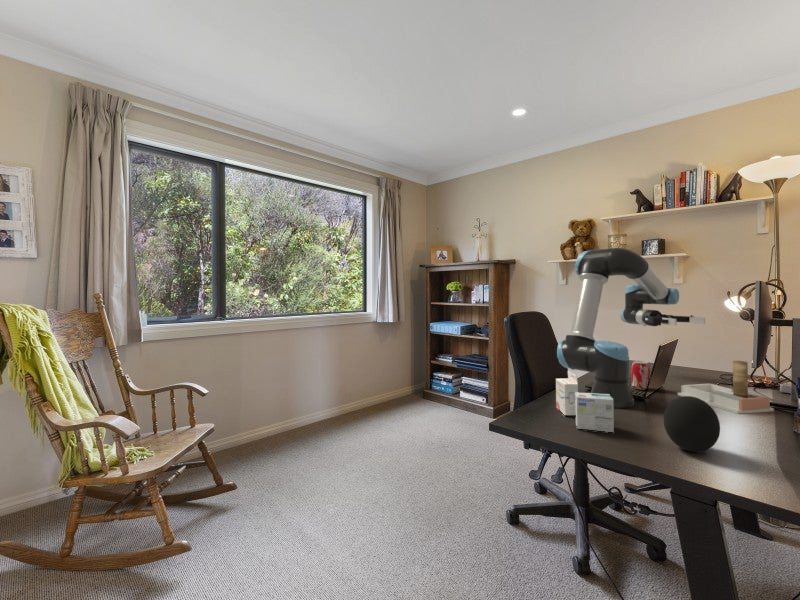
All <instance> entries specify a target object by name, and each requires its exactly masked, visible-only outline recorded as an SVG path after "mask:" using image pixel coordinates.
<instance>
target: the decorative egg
mask: <svg viewBox="0 0 800 600" xmlns="http://www.w3.org/2000/svg"><path fill="white" fill-rule="evenodd" d="M663 426H664V430H665V431H666V434H667V435H668V437H669V439H670V440H671V441H672V442H673V444H675V445H676V446H678V447H679V448H680V449H682V450H685V451H687V452H692V453H702V452H705V451H708V450H709V449H711V448H712V447H713V446H715V444H716V443H717V441H718V440H719V438H720V434H721V423H720V420H719V417H718V415H717V413H716V411H715V410H714V408H713V406H711V405H708V404H707V403H706V402H705V401H703V400H701V399H699V398H696V397H692V396H679V397H676V398H674V399H673V400H671V401H670V402H669V403H668V404H667V406H666V408H665V410H664V412H663Z"/></svg>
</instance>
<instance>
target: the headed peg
mask: <svg viewBox="0 0 800 600" xmlns="http://www.w3.org/2000/svg"><path fill="white" fill-rule="evenodd" d="M748 369H749V363H748V361H746V360H745V361H743V360H732V389H733V395H736V396H739V397H743V398H748V392H749V373H748V372H749V370H748Z"/></svg>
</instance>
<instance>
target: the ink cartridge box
mask: <svg viewBox="0 0 800 600" xmlns="http://www.w3.org/2000/svg"><path fill="white" fill-rule="evenodd" d="M575 392H578V393H579V382H578V375H577V374H575V373H573V372H572V371H570V370H567V378H561V377H560V378H555V409H556V408H557V409H558V410H560V411H561V412H562V413H563V414H564V415H576V412H575ZM557 409H556V410H557ZM558 410H557V411H558ZM563 414H562V415H563ZM564 415H563V416H564Z"/></svg>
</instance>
